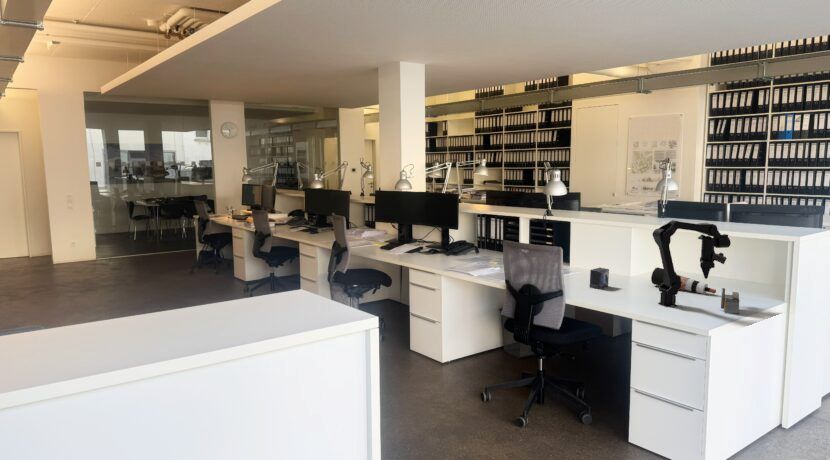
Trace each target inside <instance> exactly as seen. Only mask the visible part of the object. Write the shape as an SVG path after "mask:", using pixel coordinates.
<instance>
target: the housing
mask: <svg viewBox="0 0 830 460" xmlns="http://www.w3.org/2000/svg"><path fill="white" fill-rule="evenodd" d="M739 293H740V292H738V291H732V294H725V311H724V314H730V315H731V314H732V315H739V314H740V313H739V311H740V294H739Z"/></svg>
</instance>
